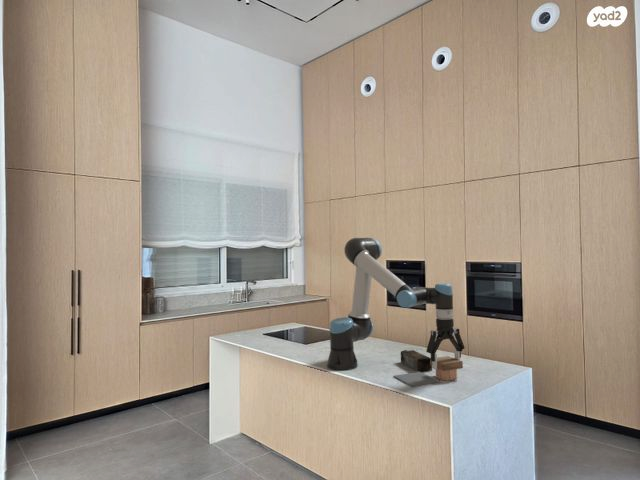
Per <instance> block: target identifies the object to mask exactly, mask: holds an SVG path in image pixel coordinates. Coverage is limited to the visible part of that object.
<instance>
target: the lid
mask: <svg viewBox="0 0 640 480" xmlns="http://www.w3.org/2000/svg"><path fill="white" fill-rule="evenodd" d="M463 364H464V363H463V361H462V360H461V359H460V360H458V359H455V357H452V356H449V355H447V356H439V357H438V356H437V368H438V369H440V370H443V371H447V370H454V369H457V370H459V369H463V368H464V366H463ZM430 365H431V366H432V361H431V359H430Z"/></svg>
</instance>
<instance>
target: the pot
mask: <svg viewBox="0 0 640 480" xmlns="http://www.w3.org/2000/svg"><path fill="white" fill-rule="evenodd" d="M435 377H436V378H437V380H441V381H455V380H457V379H458V369H454V370H447V371H443V370H440V369H438V368H437V369H435Z"/></svg>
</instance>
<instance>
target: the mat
mask: <svg viewBox="0 0 640 480" xmlns="http://www.w3.org/2000/svg"><path fill="white" fill-rule="evenodd" d="M393 378H394V379H397V380H398V381H400V382H402V383H404V384H405V385H407V386H410V387H411V388H412V387H417V386H418V387H419V386H425V385H432V384H438V383H440V380H439V379H436V378H434V377H431V376H430V375H429V374H428V375H427V374H425V373H424V372H417V371H416V372H410V373H402V374H396V375H393Z"/></svg>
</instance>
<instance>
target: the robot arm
mask: <svg viewBox="0 0 640 480" xmlns="http://www.w3.org/2000/svg"><path fill="white" fill-rule="evenodd" d="M382 250H383V249H382V245H381V244H380V242H379V241H378V240H377V239H376V238H372V237H371V238H370V237H353V238H350V239H349V240H348V241H347V242H346V243H345V245H344V255H345V257H346V259H348V261H349V262H350V263H352V264H353V266H355V276H354V283H353V284H354V285H353V286H354V287H353V293H352V304H351V311H349V312H348V314H347V315H348V316H347V317H346V316H345V317H343V316H342V317H338V318H334V319H332V320H331V321H330V323H329V343H330V344H329V345H330V351H329V354H328V358H327V362H326V364H327V365H326V366H327V368H329V369H331V370H336V371H337V370H338V371H346V370H348V371H349V370H353V369H355V368H357V367H358V366H359V365H358V359H357V356H356V354H355V351H354V350H355V349H354V348H355V347H354V343H356V342H358V341H363V340H365V339H367V338H369V337H370V336H371V335H372V334H373V333H374V322H373V321H372V319H371V315H370V313H369V306H370V297H371V295H370V294H371V288H372V287H371V286H372V279H373V280H374V281H376V282H377V283H378V284H380V285H381V287H383V288H384V289H385V290H387V291H388V293H390V294H391V295H393V296H394V297H395V298H396V302H397V303H398V305H399V307H402V308H406V309H407V308H412V307H417V306H421V305H435V317H436V319H435V326H436V330H430V337H429V340H428V344H427V347H426V350H425V351H426V353H429V354H430V358H431V361H432V369H433V370H436V369H437V358H438V354H437V350H438V349H439V347H440V346H441V343H442V342H443V341H444V340H449V341H450V342H451V344H452V346H453V347H454V349H455V350H454V352H453V353H454V358H455V359H458V360H460V361H461V358H462V352H463V350H465V349H466V347H465V345H464V341H463V340H462V337H461V334H460V333H461V332H460V328H457V327H454V305H453V304H454V301H453V300H454V299H453V298H454V297H453V296H454V293H453V286H452V284H450V283H436V284H435V285H434V287H425V286H424V287H422V286H414V287H412V288H411V287H410V286H408V284H406V283H405V282H404V281H403V280H402V279H400V278H399V277H398V276H397V275H395V274H394V273H393V272H392V271H390V270H389V269H388V268H387V267H385V266H384V265H383V264H382V263H381V262H379V261H378V259H380V257H381V256H382Z"/></svg>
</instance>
